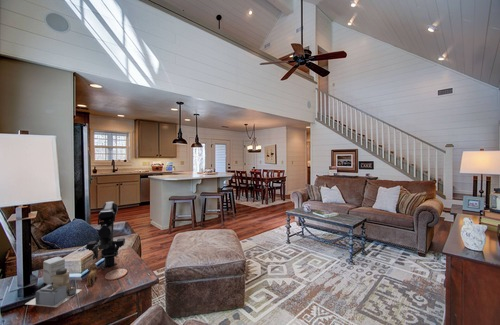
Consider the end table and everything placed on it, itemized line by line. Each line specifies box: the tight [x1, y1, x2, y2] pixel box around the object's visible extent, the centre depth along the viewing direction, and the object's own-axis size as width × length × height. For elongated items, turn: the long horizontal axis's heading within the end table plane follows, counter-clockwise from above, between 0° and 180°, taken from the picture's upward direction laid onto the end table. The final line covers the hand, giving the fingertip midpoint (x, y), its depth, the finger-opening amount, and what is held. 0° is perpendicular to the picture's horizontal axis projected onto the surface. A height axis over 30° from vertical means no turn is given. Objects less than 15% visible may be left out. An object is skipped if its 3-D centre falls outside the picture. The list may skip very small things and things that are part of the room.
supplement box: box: [42, 256, 66, 285], centre depth 127 cm, size 7×7×13 cm
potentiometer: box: [67, 286, 77, 297], centre depth 114 cm, size 4×4×3 cm
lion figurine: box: [86, 262, 99, 287], centre depth 127 cm, size 15×5×9 cm, turn 36°
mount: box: [25, 283, 82, 308], centre depth 112 cm, size 14×17×8 cm
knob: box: [52, 267, 70, 294], centre depth 113 cm, size 4×5×12 cm
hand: (106, 257), depth 130 cm, fingers open, 9 cm apart
